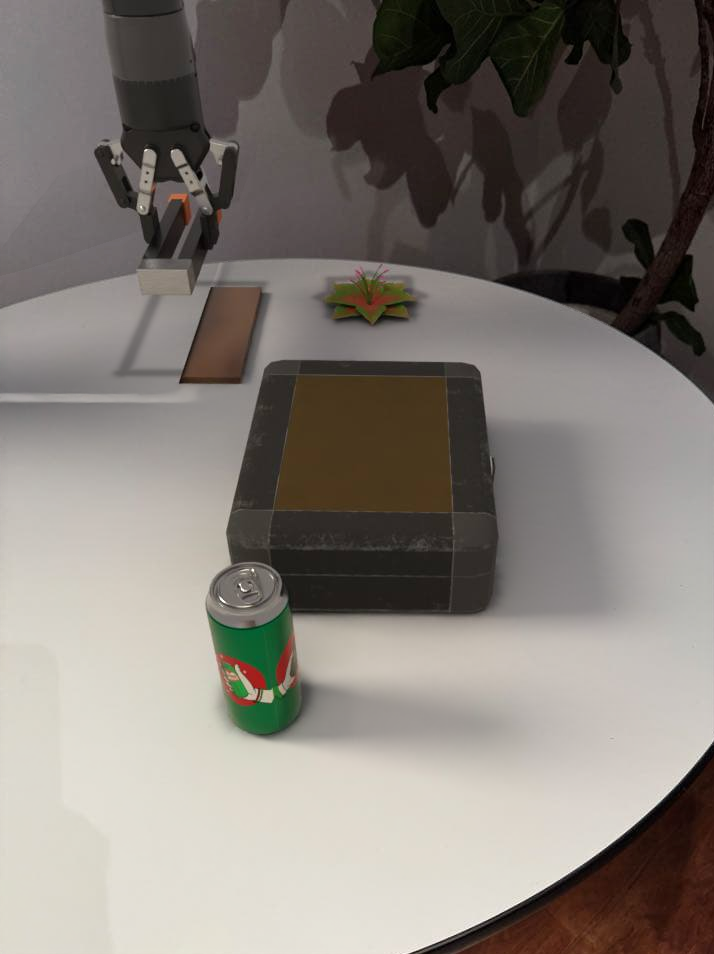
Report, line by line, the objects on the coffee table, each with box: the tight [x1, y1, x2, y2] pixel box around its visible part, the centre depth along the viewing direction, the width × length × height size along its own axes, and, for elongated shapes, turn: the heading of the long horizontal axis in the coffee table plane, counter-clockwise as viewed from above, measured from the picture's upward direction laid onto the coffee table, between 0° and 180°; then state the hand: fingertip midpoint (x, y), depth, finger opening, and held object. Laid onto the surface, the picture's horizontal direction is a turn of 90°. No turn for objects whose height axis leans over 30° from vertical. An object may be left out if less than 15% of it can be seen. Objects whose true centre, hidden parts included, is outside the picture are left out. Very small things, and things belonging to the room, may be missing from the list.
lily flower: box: [320, 263, 419, 326], centre depth 101 cm, size 12×12×5 cm
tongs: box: [136, 193, 223, 296], centre depth 89 cm, size 19×5×3 cm, turn 1°
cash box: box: [225, 359, 499, 614], centre depth 73 cm, size 25×20×8 cm
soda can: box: [204, 562, 303, 735], centre depth 56 cm, size 5×5×12 cm
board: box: [178, 286, 263, 384], centre depth 97 cm, size 12×20×1 cm, turn 1°
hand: (183, 246), depth 90 cm, fingers closed on tongs, 4 cm apart
